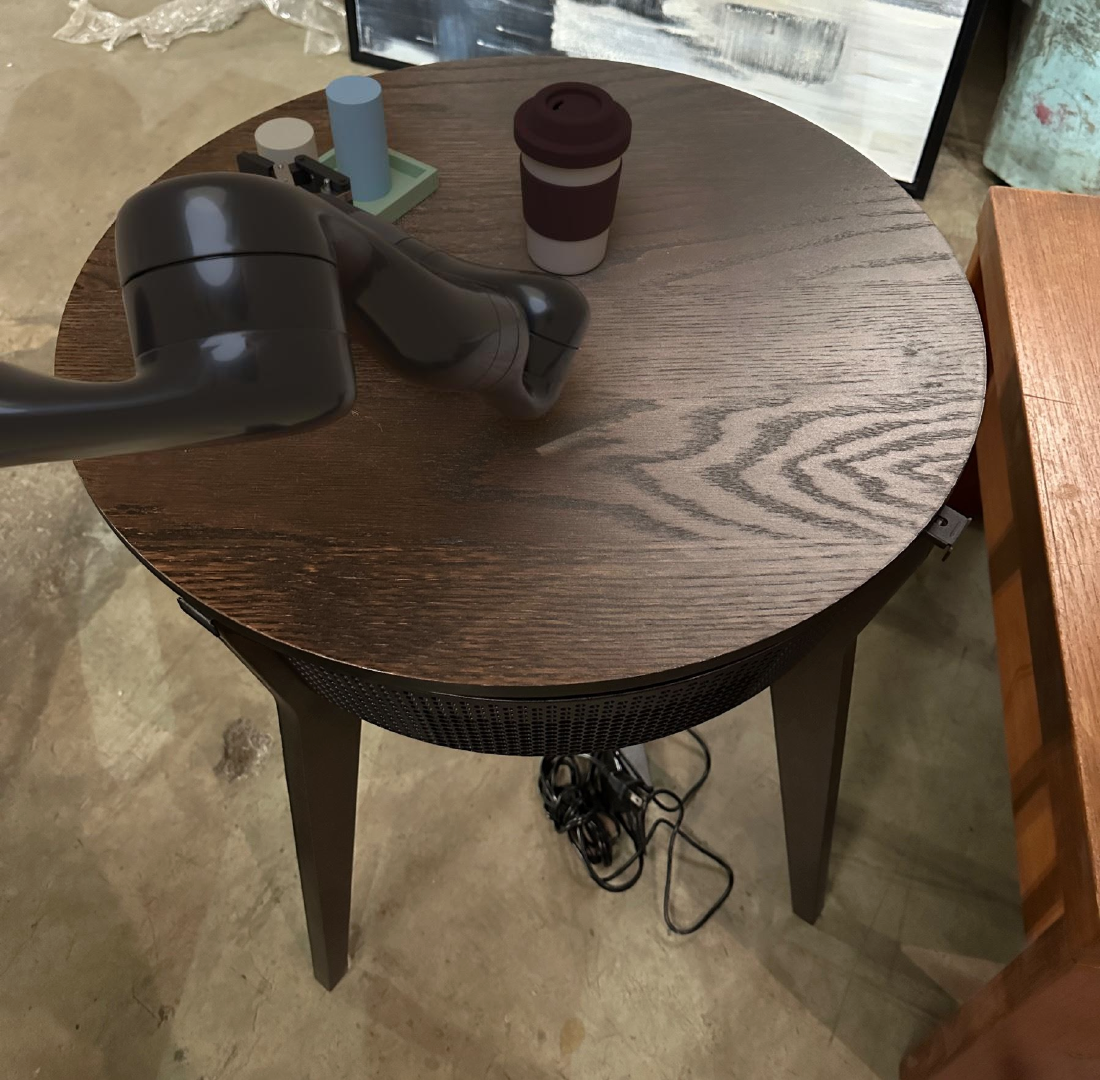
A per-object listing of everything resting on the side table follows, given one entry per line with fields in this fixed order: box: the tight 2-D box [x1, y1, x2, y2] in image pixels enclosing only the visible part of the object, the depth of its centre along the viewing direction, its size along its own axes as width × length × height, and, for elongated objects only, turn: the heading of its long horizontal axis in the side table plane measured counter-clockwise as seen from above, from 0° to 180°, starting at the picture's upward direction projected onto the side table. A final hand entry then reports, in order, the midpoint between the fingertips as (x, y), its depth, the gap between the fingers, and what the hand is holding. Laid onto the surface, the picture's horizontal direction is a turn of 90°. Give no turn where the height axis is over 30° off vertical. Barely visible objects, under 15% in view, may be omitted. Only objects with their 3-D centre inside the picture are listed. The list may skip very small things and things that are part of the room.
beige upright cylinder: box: [254, 117, 319, 192], centre depth 92 cm, size 5×5×10 cm
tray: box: [318, 147, 440, 224], centre depth 96 cm, size 28×11×2 cm, turn 146°
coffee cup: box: [513, 81, 633, 276], centre depth 90 cm, size 10×10×15 cm
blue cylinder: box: [325, 74, 392, 202], centre depth 97 cm, size 5×5×10 cm
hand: (203, 186), depth 84 cm, fingers open, 8 cm apart
